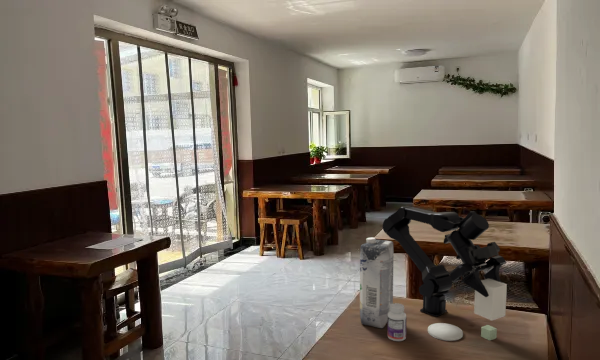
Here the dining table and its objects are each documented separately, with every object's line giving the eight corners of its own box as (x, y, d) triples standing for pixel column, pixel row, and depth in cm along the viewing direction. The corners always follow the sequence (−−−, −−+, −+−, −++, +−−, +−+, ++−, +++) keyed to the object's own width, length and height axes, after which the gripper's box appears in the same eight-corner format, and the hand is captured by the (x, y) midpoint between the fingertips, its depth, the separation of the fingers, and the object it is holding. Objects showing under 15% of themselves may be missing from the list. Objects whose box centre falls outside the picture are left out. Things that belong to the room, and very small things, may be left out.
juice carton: (394, 317, 147) (395, 236, 144) (384, 330, 138) (386, 244, 135) (368, 312, 151) (369, 233, 148) (357, 325, 142) (357, 240, 139)
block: (480, 336, 134) (481, 327, 134) (487, 334, 135) (488, 324, 135) (489, 340, 131) (489, 331, 131) (496, 338, 133) (496, 328, 132)
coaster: (421, 332, 137) (421, 329, 137) (439, 322, 143) (439, 320, 143) (451, 344, 129) (451, 341, 129) (469, 333, 136) (469, 330, 136)
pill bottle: (394, 331, 138) (394, 300, 136) (409, 337, 134) (410, 305, 132) (383, 337, 134) (384, 305, 133) (399, 343, 130) (399, 311, 129)
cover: (474, 313, 134) (475, 281, 132) (487, 308, 136) (488, 278, 135) (491, 320, 128) (493, 288, 127) (505, 316, 131) (506, 284, 130)
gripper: (459, 237, 128) (491, 287, 120) (501, 229, 138) (534, 275, 129) (437, 257, 136) (466, 305, 128) (479, 248, 145) (508, 293, 137)
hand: (494, 294), depth 130 cm, fingers closed on cover, 6 cm apart
